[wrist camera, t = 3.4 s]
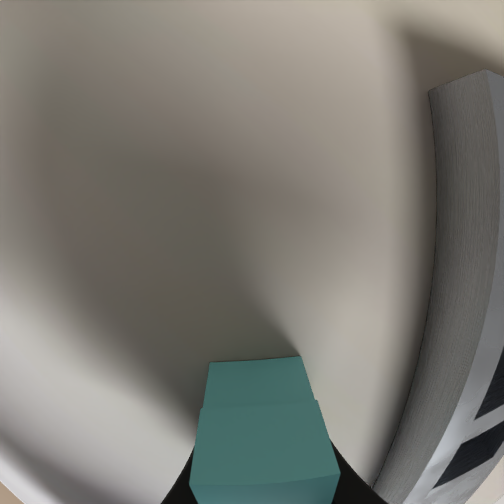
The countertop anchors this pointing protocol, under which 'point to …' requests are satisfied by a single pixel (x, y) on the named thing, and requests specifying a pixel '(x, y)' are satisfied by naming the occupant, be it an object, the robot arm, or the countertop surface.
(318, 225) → the countertop surface
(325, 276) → the countertop surface
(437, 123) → the rail
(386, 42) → the countertop surface
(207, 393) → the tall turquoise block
